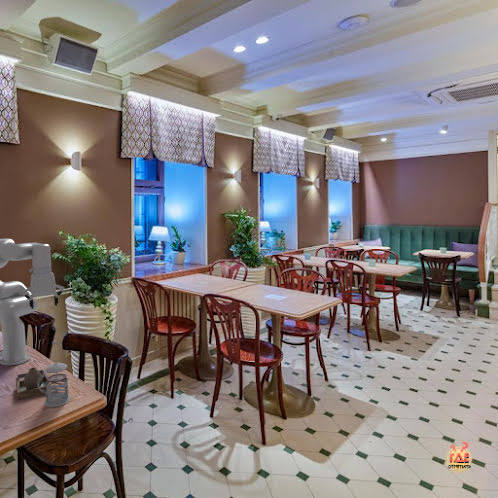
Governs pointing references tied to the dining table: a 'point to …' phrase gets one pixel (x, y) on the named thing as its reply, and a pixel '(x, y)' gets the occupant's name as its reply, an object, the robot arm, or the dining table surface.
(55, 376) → the french press
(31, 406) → the dining table surface
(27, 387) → the vase
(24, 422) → the dining table surface
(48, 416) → the dining table surface
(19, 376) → the trivet frame
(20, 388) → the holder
